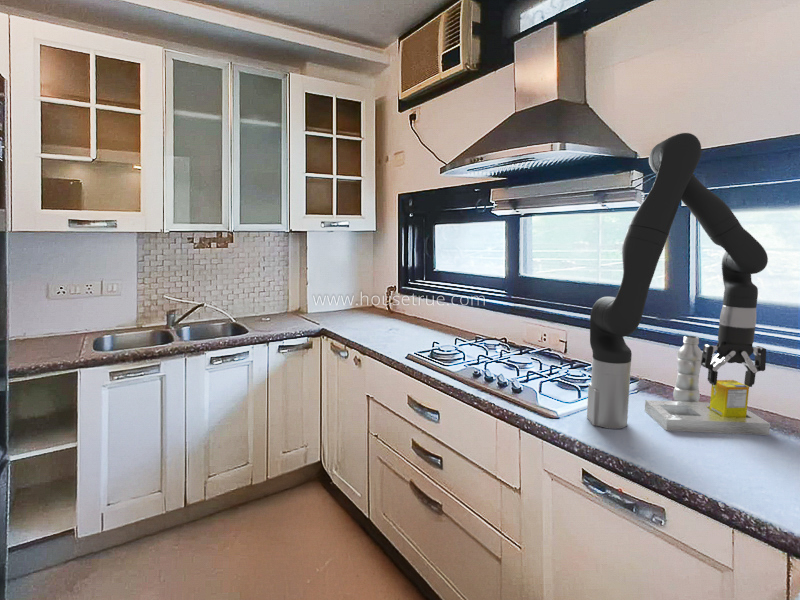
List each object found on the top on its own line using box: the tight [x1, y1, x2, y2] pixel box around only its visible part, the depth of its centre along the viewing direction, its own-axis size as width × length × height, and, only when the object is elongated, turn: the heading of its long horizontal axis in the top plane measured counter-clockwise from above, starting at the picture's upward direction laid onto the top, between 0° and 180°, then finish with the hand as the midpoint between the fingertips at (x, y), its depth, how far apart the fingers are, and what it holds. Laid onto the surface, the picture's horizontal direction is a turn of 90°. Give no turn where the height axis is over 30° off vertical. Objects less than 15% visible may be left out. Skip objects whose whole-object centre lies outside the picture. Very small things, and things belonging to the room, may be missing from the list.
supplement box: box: [709, 379, 750, 418], centre depth 124 cm, size 6×6×11 cm
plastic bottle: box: [672, 335, 703, 402], centre depth 138 cm, size 6×7×20 cm
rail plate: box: [644, 399, 771, 436], centre depth 125 cm, size 24×14×3 cm, turn 83°
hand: (730, 385), depth 123 cm, fingers open, 8 cm apart
